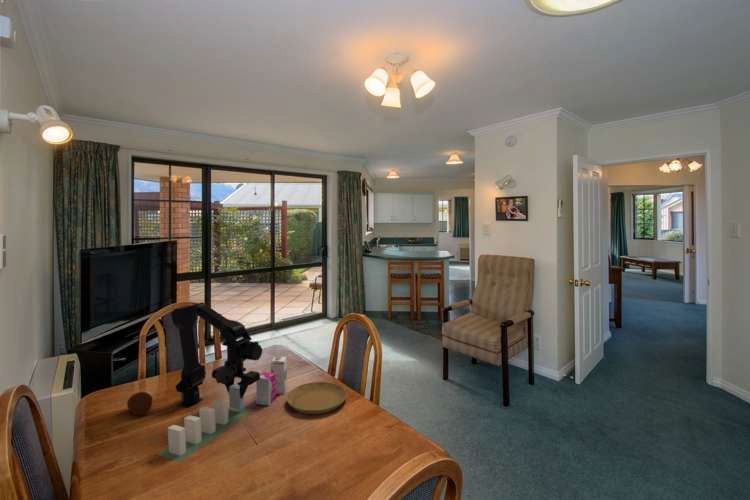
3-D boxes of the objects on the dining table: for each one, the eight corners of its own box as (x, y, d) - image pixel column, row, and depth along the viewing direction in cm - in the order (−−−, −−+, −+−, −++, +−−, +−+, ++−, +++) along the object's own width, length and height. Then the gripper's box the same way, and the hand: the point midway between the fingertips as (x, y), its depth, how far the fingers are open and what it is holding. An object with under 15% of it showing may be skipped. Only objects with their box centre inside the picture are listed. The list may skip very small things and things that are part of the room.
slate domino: (229, 406, 134) (229, 386, 133) (233, 404, 136) (232, 384, 135) (239, 409, 132) (239, 389, 132) (243, 406, 134) (243, 386, 133)
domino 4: (213, 422, 127) (212, 401, 126) (217, 419, 128) (217, 398, 128) (224, 424, 125) (223, 403, 124) (228, 422, 127) (227, 400, 126)
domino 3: (200, 431, 121) (199, 409, 120) (204, 428, 123) (203, 406, 122) (211, 434, 119) (210, 411, 119) (215, 431, 121) (214, 409, 120)
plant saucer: (335, 384, 158) (335, 377, 158) (355, 409, 136) (355, 401, 136) (281, 395, 148) (281, 388, 148) (294, 424, 126) (293, 415, 126)
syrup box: (273, 388, 154) (273, 356, 153) (287, 387, 154) (286, 356, 153) (271, 394, 148) (270, 361, 147) (285, 394, 148) (284, 361, 147)
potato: (142, 404, 140) (141, 384, 140) (160, 410, 135) (159, 391, 135) (121, 413, 134) (120, 393, 133) (139, 420, 128) (138, 399, 128)
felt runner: (157, 455, 109) (157, 454, 109) (232, 405, 139) (232, 405, 139) (180, 462, 105) (180, 461, 105) (252, 410, 135) (252, 409, 135)
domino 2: (185, 441, 115) (184, 418, 115) (190, 437, 117) (189, 415, 117) (196, 444, 114) (195, 421, 113) (201, 441, 115) (200, 417, 115)
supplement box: (269, 406, 138) (268, 378, 137) (256, 405, 139) (255, 377, 138) (276, 399, 144) (275, 372, 143) (263, 398, 145) (262, 371, 144)
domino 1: (168, 452, 110) (167, 427, 109) (174, 448, 112) (173, 424, 111) (180, 455, 108) (179, 431, 107) (186, 452, 110) (185, 427, 109)
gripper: (199, 361, 128) (200, 401, 129) (239, 368, 122) (240, 411, 123) (222, 351, 139) (223, 388, 140) (260, 357, 132) (261, 396, 133)
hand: (236, 396), depth 134 cm, fingers closed on slate domino, 5 cm apart
